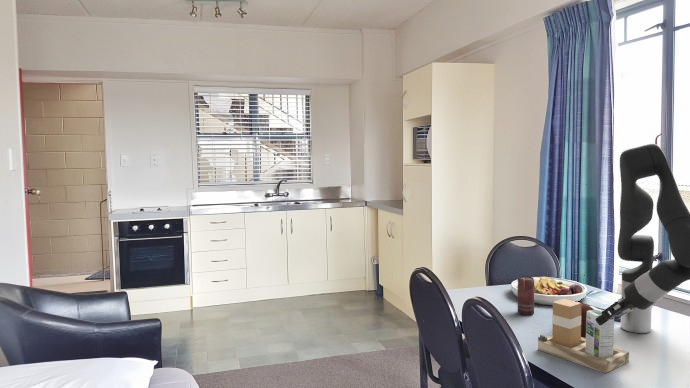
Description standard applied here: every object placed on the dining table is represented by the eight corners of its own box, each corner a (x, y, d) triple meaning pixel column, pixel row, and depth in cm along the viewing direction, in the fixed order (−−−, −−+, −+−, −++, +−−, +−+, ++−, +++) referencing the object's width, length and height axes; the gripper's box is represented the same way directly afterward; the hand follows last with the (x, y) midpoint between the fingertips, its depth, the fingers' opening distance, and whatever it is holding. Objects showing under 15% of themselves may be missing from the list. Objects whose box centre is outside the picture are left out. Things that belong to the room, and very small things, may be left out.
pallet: (561, 340, 174) (561, 326, 174) (628, 361, 156) (629, 346, 155) (537, 349, 167) (537, 335, 166) (605, 373, 149) (605, 357, 148)
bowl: (497, 297, 224) (497, 279, 224) (532, 284, 244) (532, 267, 244) (566, 313, 202) (566, 293, 201) (598, 296, 222) (599, 278, 221)
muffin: (603, 332, 180) (604, 304, 179) (590, 341, 172) (591, 311, 172) (568, 324, 189) (569, 297, 188) (555, 332, 181) (555, 304, 180)
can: (517, 315, 200) (517, 279, 199) (518, 310, 206) (518, 275, 205) (533, 316, 198) (534, 280, 197) (534, 311, 204) (534, 276, 202)
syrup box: (584, 356, 159) (585, 310, 158) (602, 355, 160) (603, 309, 159) (595, 364, 154) (596, 316, 152) (614, 362, 154) (615, 315, 153)
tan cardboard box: (563, 343, 170) (563, 298, 168) (580, 349, 165) (581, 303, 163) (552, 348, 166) (552, 302, 165) (569, 354, 161) (570, 306, 160)
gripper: (650, 274, 149) (610, 303, 160) (624, 282, 141) (583, 313, 152) (669, 296, 145) (627, 325, 156) (643, 306, 137) (601, 336, 148)
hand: (605, 319), depth 154 cm, fingers open, 8 cm apart
